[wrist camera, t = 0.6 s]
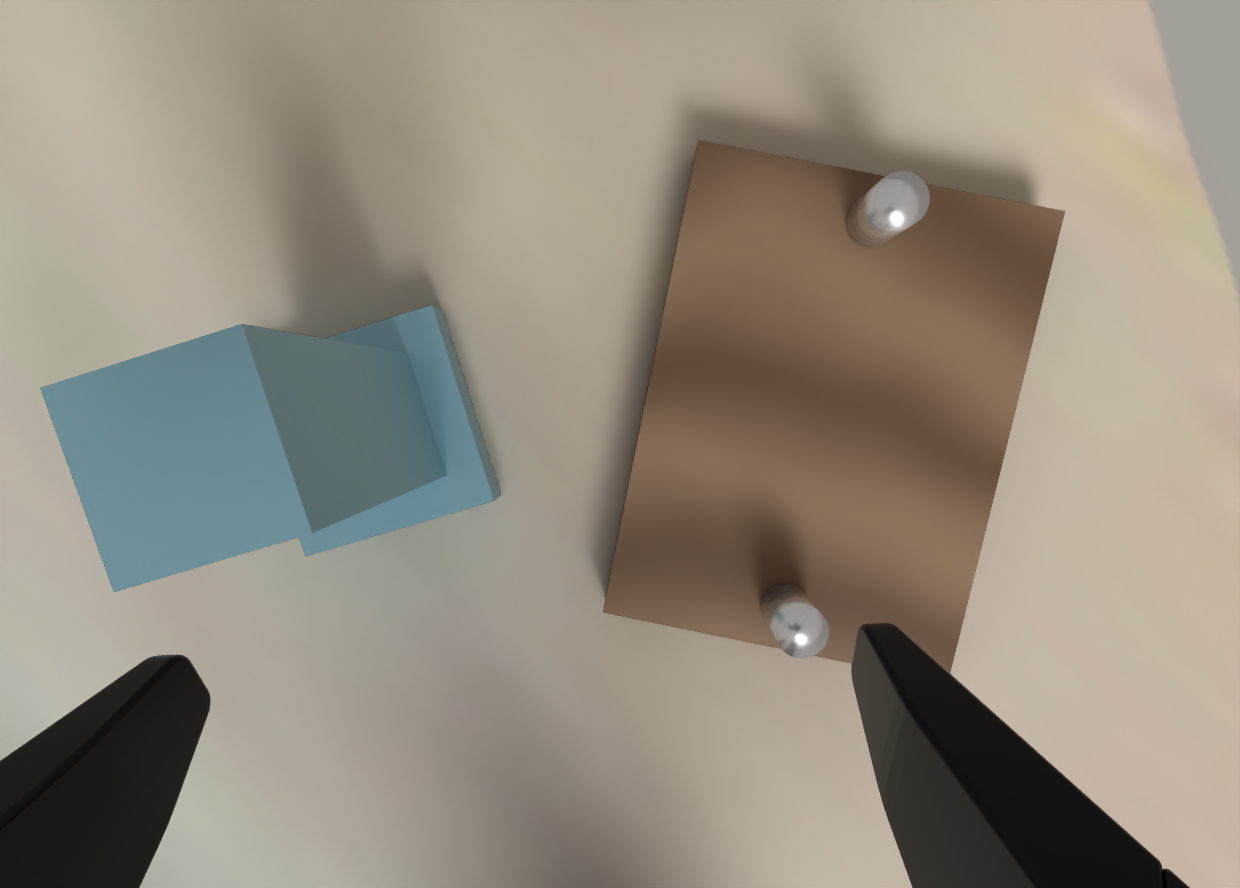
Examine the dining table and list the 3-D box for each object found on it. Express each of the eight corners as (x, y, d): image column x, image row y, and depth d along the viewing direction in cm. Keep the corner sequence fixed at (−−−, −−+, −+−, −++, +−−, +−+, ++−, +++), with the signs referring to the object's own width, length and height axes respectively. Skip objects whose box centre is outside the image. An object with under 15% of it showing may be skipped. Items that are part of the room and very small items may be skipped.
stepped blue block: (501, 495, 24) (391, 575, 13) (321, 548, 24) (77, 667, 14) (442, 309, 23) (281, 240, 13) (260, 366, 24) (-41, 344, 13)
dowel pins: (802, 632, 22) (822, 662, 20) (756, 623, 22) (770, 652, 20) (900, 202, 21) (935, 176, 19) (851, 192, 21) (880, 165, 19)
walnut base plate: (927, 664, 24) (947, 683, 22) (605, 598, 24) (603, 612, 22) (1036, 223, 22) (1065, 211, 21) (694, 157, 23) (698, 140, 21)
